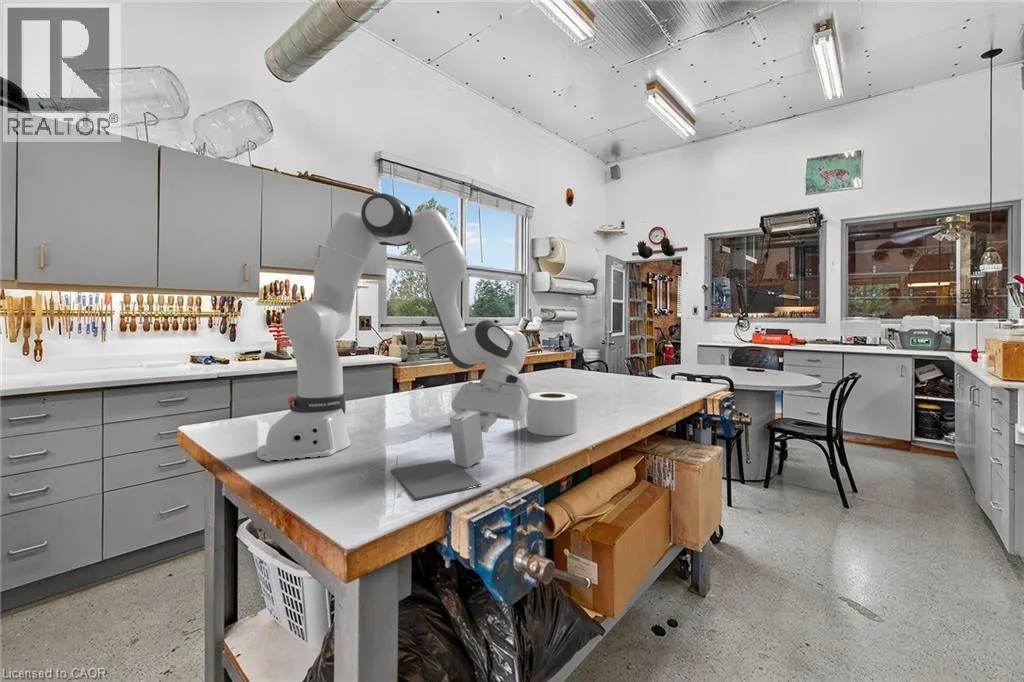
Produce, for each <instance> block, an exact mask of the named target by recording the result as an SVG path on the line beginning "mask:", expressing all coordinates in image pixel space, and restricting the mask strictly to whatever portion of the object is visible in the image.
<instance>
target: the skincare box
mask: <svg viewBox="0 0 1024 682" xmlns="http://www.w3.org/2000/svg"><path fill="white" fill-rule="evenodd" d="M449 421H450V424H449V425H450V429H451V438H452V446H453V452H454V453H453V454H454V461H455V462H454V463H455V464H456V465H457V466H458V467H462V466H463V467H462V468H466V467H467V469H468V468H470V467H471V466H473V465H475V464H477V463H478V462H480V461H481V460H483V459H484V458H485V452H484V442H483V435H482V433H483V432H481V424H480V416H479V412H478V411H472V410H465V411H463V412H461V413H459V414H457V413H456V414H455V415H453V416H451V417H449Z"/></svg>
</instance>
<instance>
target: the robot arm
mask: <svg viewBox="0 0 1024 682" xmlns="http://www.w3.org/2000/svg"><path fill="white" fill-rule="evenodd" d="M458 238H459V237H458V236H457V234H456V233H455V231H454V230H453V228H452V226H451V224H450V223H449V222H448V220H447V219H446V217H445V216H444V215H443V214H442V212H440V211H439V210H437V209H433V208H432V209H429V208H427V209H423V210H422V211H419V212H413V209H412V208H411V207H410V206H409V205H407V204H406V203H404V202H403V201H402V200H400V199H399V198H397V197H396V196H393V195H391V194H387V193H384V192H381V193H380V192H379V193H374V194H371V195H370V196H369V197H368V198H366V199H365V201H364V202H363V204H362V206H361V211H360V212H356V211H344V212H342V213H341V214H339V216H338V217H337V219H336V220H335V223H334V224H333V225H332V227H331V229H330V231H329V233H328V235H327V238H326V240H325V242H324V245H323V247H322V249H321V252H320V255H319V258H318V260H317V262H316V265H315V268H314V271H313V279H314V283H313V284H314V286H313V291H312V293H313V295H312V298H311V300H303V301H300V302H298V303H295V304H293V305H291V306H290V307H289V308H287V309H286V310H285V312H284V313H283V316H282V320H281V326H282V330H283V332H284V334H285V335H286V336H287V337H288V339H289V341H290V344H291V347H292V351H293V355H294V359H295V364H296V369H297V370H296V371H297V393H298V395H296V396H293V395H290V396H288V397H287V399H286V401H287V403H288V404H289V410H290V411H288V412H287V413H286V414H284V416H282V417H280V419H279V420H277V421H276V422H275V423H274V424H272V425H271V427H270V428H269V429H268V431H267V435H266V439H265V443H264V444H262V445H260V446H259V447H258V448H257V450H256V458H257V457H258V458H259V459H261V460H265V461H267V462H271V461H270V460H278V461H285V460H284V459H289V460H296V459H295V458H299V459H306V458H305V457H310V458H317V457H318V456H320V457H328V456H331V455H333V454H335V453H337V452H339V451H342V450H344V449H346V448H348V447H349V446H350V445H351V444H352V443H351V440H350V437H349V436H350V435H349V433H348V429H347V424H346V423H347V422H346V416H345V414H346V410H347V409H346V407H347V406H346V405H347V404H346V401H347V400H346V393H345V392H344V376H343V375H344V371H343V362H342V361H341V359H340V356H339V352H338V350H337V349H338V348H337V345H336V341H337V340H339V339H340V338H342V337H343V336H344V335H345V334H346V333H347V332H348V331H349V329H350V326H351V315H352V311H353V306H354V300H355V294H356V291H357V287H358V285H359V282H360V280H361V277H362V274H363V272H364V269H365V267H366V263H367V261H368V259H369V255H370V253H371V251H372V249H373V247H374V246H375V245H376V244H379V245H382V246H392V247H401V246H402V247H403V246H407V245H409V244H410V243H411V244H412V245H413V246H414V248H415V250H416V252H417V254H418V256H419V258H420V260H421V262H422V264H423V267H424V269H425V273H426V277H427V280H428V286H429V287H428V288H429V296H430V298H431V299H430V300H431V302H432V305H433V309H434V311H435V314H436V317H437V319H438V322H439V326H440V327H441V330H442V333H443V335H444V340H445V349H446V353H447V356H448V358H449V360H450V361H451V363H452V364H453V365H454V366H456V367H457V368H459V369H462V370H468V369H471V368H473V367H475V366H476V365H479V364H480V363H482V362H485V364H486V367H485V369H484V372H483V374H482V376H481V378H480V381H478V382H472V381H469V382H468V381H467V383H465V384H463V385H462V386H461V387H460V389H459V390H458V392H457V393H456V394H455V396H454V397H453V399H452V401H451V403H450V404H451V405H450V406H451V408H452V410H453V412H455V413H456V415H457V414H459V413H461V412H463V411H465V410H472V411H478V412H479V416H480V417H489V418H488V420H487V421H486V422H485V423H481V433H486V434H487V433H488V431H489V429H490V428H491V427H492V426H493V425H495V423H496V422H497V420H498V419H500V420H509V421H516V422H520V421H522V420H524V418H525V416H526V413H527V407H528V399H527V398H528V397H529V395H530V394H531V392H530V389H529V387H528V386H527V384H526V382H525V381H524V380H523V379H522V377H520V376H518V375H519V373H520V371H521V370H522V368H523V366H524V363H525V360H526V357H527V353H528V347H529V345H528V340H527V338H526V337H525V335H524V334H523V333H522V332H521V331H519V330H517V329H512V328H511V329H506V328H503V327H501V326H500V325H499V324H498V323H497V322H495V321H493V320H488V319H484V320H482V321H480V322H478V323H476V324H473V325H471V326H470V327H469V328H466V327H465V324H464V322H463V318H462V316H461V313H460V310H459V308H458V303H457V299H456V298H457V292H458V289H459V286H460V284H461V283H462V281H463V279H464V277H465V274H466V272H467V268H468V261H467V256H466V252H465V251H464V248H463V247H462V244H461V243H460V240H459V239H458ZM258 458H257V459H258ZM259 459H258V460H259ZM261 460H260V461H261ZM265 461H264V462H265Z"/></svg>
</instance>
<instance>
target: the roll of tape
mask: <svg viewBox="0 0 1024 682" xmlns="http://www.w3.org/2000/svg"><path fill="white" fill-rule="evenodd" d="M527 399H528V407H527V410H526V413H527V418H526V420H527V421H526V423H527V424H526V425H527V426H526V429H527V431H528V433H529V432H530V433H532V434H534V435H538V436H546V437H563V436H568V435H572V434H575V433H576V432H577V431H578V395H576V394H573V393H569V392H561V391H560V392H557V391H542V392H533V393H530V395H529V397H528V398H527Z"/></svg>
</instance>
